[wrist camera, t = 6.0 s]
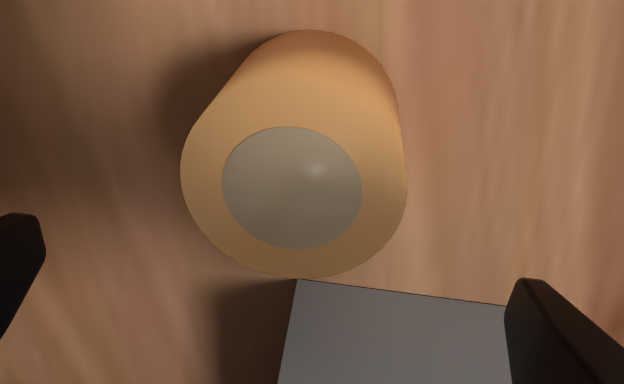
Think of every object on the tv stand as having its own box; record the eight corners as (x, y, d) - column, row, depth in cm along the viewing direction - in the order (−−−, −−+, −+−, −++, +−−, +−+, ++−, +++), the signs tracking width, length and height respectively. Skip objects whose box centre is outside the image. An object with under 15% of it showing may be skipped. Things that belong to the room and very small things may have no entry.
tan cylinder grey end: (229, 179, 16) (185, 266, 13) (227, 20, 14) (171, 67, 10) (383, 198, 16) (387, 293, 12) (412, 39, 14) (429, 97, 10)
